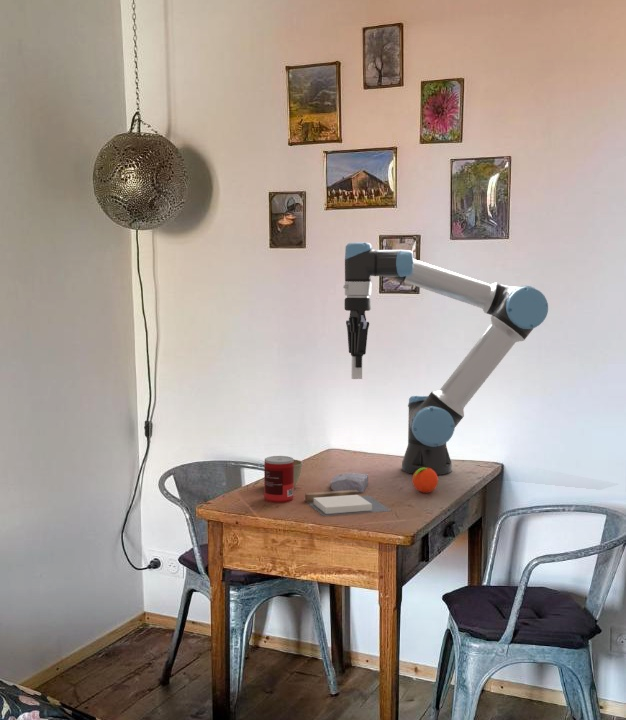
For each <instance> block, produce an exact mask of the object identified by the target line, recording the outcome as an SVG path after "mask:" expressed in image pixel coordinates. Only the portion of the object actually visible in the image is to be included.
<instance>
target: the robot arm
mask: <svg viewBox="0 0 626 720" xmlns="http://www.w3.org/2000/svg"><path fill="white" fill-rule="evenodd" d="M344 249H345V251H344V253H345V254H344V285H343V289H344V296H346V297H345V299H344V310H345V311H349V312H350V313H349V316H348V320H346V321H345V324H346V325H345V326H346V329H347V332H346V333H347V347H348V353H349V354H350V355H351V379H352V380H363V356H364V355H366V352H367V344H368V343H367V342H368V332H369V326H370V321H367V317H366V311H368V312H369V311H370V310H371V309H372V307H371V300H372V299H371V298H370V296H371V295H372V280H371V279H372V277H385V278H388V279H394V280H396V281H399V282H403V283H405V284H409V285H411V286H415V287H417V288H421V289H424V290H426V291H430V292H432V293H435V294H437V295H438V294H439V295H441V296H444V297H447V298H450V299H453V300H455V301H459V302H462V303H465V304H467V305H471V306H473V307H477V308H480V309H482V311H483V312H484V314H487V315H490V321H491V322H490V325H489V326H488V327H487V329H486V330H485V331H484V333H483V334H482V335H481V337H480V338H479V339H478V341H476V343H475V344H474V346H473V347H472V348H471V349H470V350H469V352H468V353H467V355H466V356H465V357H464V358H463V360H462V361H461V362H460V363H459V365H458V366H457V368H456V369H454V371H453V372H452V373H451V375H449V378H447V380H446V381H445V383H444V384H443V385H442V386H441V388H440V389H438V390H432V391H431V392H430V393H429V394H428V395H412V396H410V397H409V399H408V404H407V407H408V423H407V424H408V432H407V433H408V434H407V438H408V439H407V446H406V449H405V451H404V452H405V453H404V455H403V459H402V461H401V470H402V471H403V472H405V473H408V474H413V475H414V473H415V472H416V470H418V469H419V468H422V467H427V468H431V469H432V470H434V471H435V473H436V474H437V476H438V475H439V476H440V475H446V474H450V473H452V469H453V468H452V467H453V463H452V459H451V456H450V454H449V450H448V447H447V442H449V441H450V440H451V438H452V437H453V435H454V432H455V429H456V428H457V426H458V425H459V423H460V422H461V421H462V420H463V418H464V417H465V412H464V409H465V408H466V406H467V405H468V403H470V401H471V400H472V398H473V397H475V396H474V395H476V393H477V392H478V391H479V389H480V388H481V387H482V385H483V384H484V383H485V382H486V381H487V379H488V378H489V376H491V375H492V373H493V371H495V369H496V368H497V366H499V364H500V363H501V361H502V360H503V359H504V358H505V356H506V355H507V354H508V353H509V351H510V350H511V349H512V348H513V347H514V345H515V344H516V343H519V342H524V341H526V339H527V337H528V336H529V335H530V334H531V333H532V331H533V330H534V329H535V328H537V327H539V326H540V325H541V324H543V322H544V321H545V320H546V318H547V316H548V312H549V303H548V300H547V298H546V296H545V294H544V293H543V292H541V290H539V289H537V288H535V287H533V286H530V285H521V286H512V285H510V286H509V285H505V284H501V283H498V282H494V283H491V284H490V283H487V282H484V281H482V280H477V279H475V278H472V277H469V276H466V275H463V274H460V273H457V272H454V271H451V270H448V269H445V268H442V267H439V266H436V265H432V264H429V263H428V262H423V261H421V260H417V259H415V258H414V252H413V251H412V250H409V249H373V248H372V244H371V243H370V242H349V243H347V244H346V245H345V248H344Z"/></svg>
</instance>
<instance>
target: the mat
mask: <svg viewBox="0 0 626 720" xmlns="http://www.w3.org/2000/svg"><path fill="white" fill-rule="evenodd" d="M360 496H361V497H362V498H364V499H365V500H367V501H368V502H370V503H371V504H372V510H371V511H360V512H347V513H334V514H325V513H324V512H323V511H322V510H320V509H319V508H318V507H317V506H315V505H314V502H310V503H307V504H308V505H309V506H310V507H311V508H313V509H314V510H315V511H316V512H318V513H319V514H320V515H321V516H322V517H331V516H332V517H333V516H342V515H354V514H355V515H356V514H369V513H370V514H371V513H381V512H383V513H385V512H392V511H393V510H392V509H390V507H387V506H386V505H384V504H383V503H381V502H380V501H378V500H376V499H375V498H374V497H372V496H371V495H360Z"/></svg>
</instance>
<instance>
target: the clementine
mask: <svg viewBox="0 0 626 720" xmlns="http://www.w3.org/2000/svg"><path fill="white" fill-rule="evenodd" d="M412 484H413V487H414V488H415V489H416V490H417V491H418V492H421V493H423V494H428V493H431V492H433V491H434V490H436V489H437V486H438V484H439V477H438V475H437V474H436V473H435V471H434V470H432V469H431V468H427V467H422V468H419V469H418V470H416V472H415V473H414V474H413V476H412Z"/></svg>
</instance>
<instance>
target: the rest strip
mask: <svg viewBox="0 0 626 720" xmlns="http://www.w3.org/2000/svg"><path fill="white" fill-rule="evenodd" d="M359 493H360V492H359V491H357V490H345V491H333V490H332V491H320V492H318V491H317V492H306V493H304V501H305V502H306V504H308V503H310V502H314V498H318V497H332V496H346V495H359V496H360V494H359Z"/></svg>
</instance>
